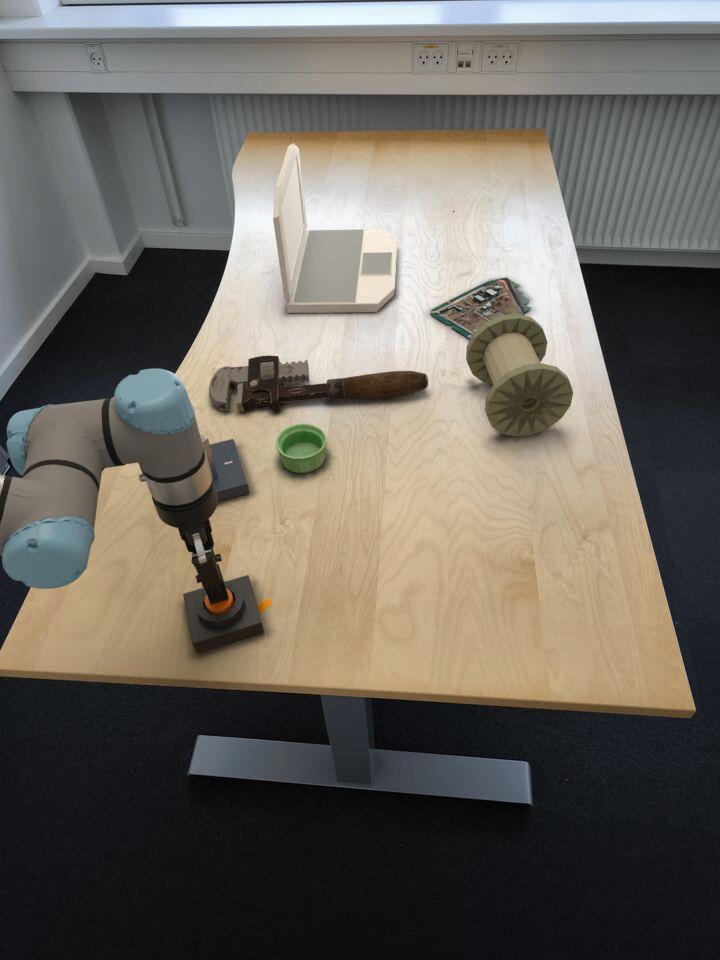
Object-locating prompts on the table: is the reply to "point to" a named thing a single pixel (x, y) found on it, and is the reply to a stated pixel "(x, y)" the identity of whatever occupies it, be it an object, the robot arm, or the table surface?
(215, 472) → the grey upright slab
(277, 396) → the pipe wrench
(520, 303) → the circuit board
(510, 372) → the spool
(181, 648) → the table surface
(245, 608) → the orange push button box
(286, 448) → the ramekin
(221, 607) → the release button
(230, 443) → the dark grey dial base
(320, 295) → the laptop
